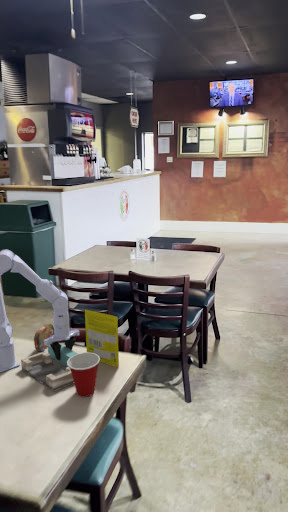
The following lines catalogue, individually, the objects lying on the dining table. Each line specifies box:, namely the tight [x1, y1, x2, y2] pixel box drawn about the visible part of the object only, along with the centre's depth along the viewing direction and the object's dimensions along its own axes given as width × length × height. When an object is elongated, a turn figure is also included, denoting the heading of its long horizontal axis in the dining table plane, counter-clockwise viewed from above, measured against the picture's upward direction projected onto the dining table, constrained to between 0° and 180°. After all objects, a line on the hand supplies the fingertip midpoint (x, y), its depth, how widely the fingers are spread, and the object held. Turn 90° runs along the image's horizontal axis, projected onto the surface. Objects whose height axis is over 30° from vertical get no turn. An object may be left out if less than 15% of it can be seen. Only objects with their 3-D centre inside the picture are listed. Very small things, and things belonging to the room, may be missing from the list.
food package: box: [84, 309, 120, 368], centre depth 165 cm, size 15×1×20 cm, turn 58°
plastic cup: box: [67, 351, 100, 398], centre depth 145 cm, size 11×11×12 cm
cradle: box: [20, 350, 74, 392], centre depth 158 cm, size 22×10×4 cm, turn 43°
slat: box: [47, 342, 79, 368], centre depth 169 cm, size 16×4×5 cm, turn 42°
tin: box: [33, 323, 54, 352], centre depth 182 cm, size 15×3×8 cm, turn 168°
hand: (63, 357), depth 169 cm, fingers closed on slat, 4 cm apart
